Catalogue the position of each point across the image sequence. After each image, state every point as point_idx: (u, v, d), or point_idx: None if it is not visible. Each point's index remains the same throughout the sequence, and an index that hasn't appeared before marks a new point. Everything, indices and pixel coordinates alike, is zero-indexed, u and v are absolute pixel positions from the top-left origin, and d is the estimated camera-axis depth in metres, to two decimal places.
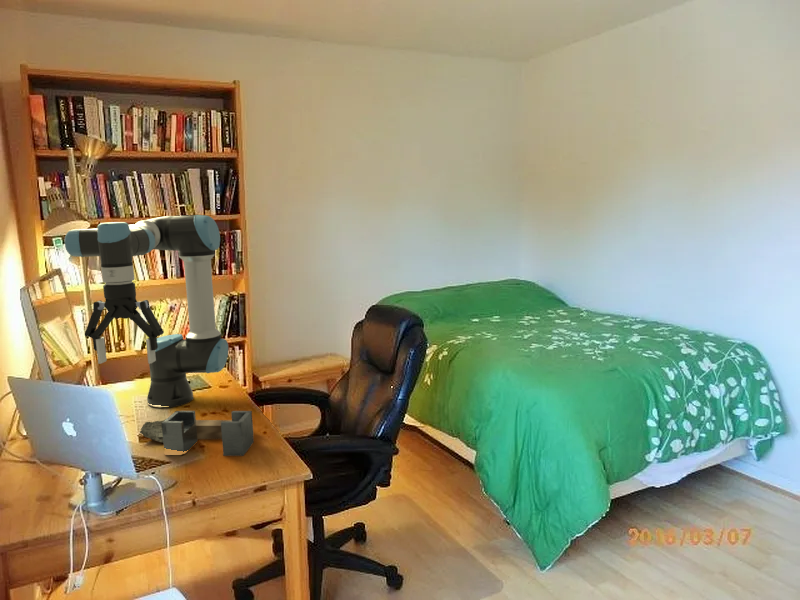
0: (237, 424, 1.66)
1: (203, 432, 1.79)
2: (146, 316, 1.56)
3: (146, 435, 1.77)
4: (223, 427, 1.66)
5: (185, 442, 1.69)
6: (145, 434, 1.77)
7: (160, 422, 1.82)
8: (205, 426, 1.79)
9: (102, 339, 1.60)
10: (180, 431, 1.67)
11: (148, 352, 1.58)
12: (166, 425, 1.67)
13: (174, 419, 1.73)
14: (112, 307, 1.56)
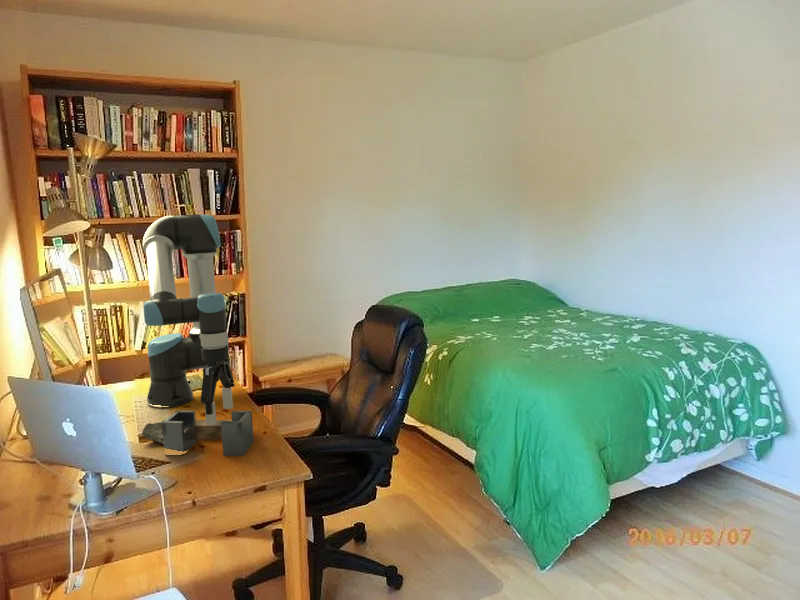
0: (237, 424, 1.66)
1: (203, 432, 1.79)
2: None
3: (148, 437, 1.76)
4: (223, 427, 1.66)
5: (185, 442, 1.69)
6: (147, 436, 1.76)
7: (161, 423, 1.81)
8: (205, 426, 1.79)
9: (227, 389, 1.85)
10: (180, 431, 1.67)
11: None
12: (166, 425, 1.67)
13: (174, 419, 1.73)
14: None
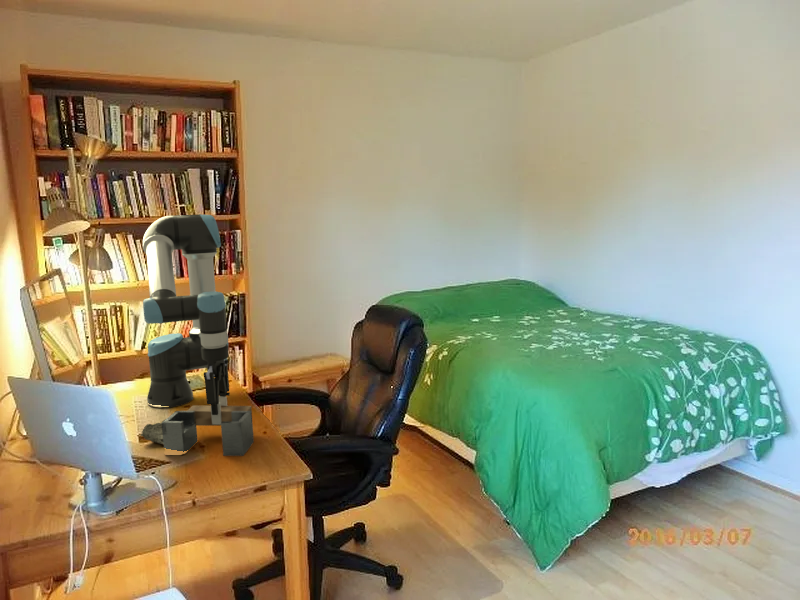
0: (237, 424, 1.66)
1: (202, 418, 1.79)
2: None
3: (148, 437, 1.75)
4: (223, 427, 1.66)
5: (185, 442, 1.69)
6: (147, 437, 1.75)
7: (161, 424, 1.80)
8: (203, 412, 1.79)
9: (223, 398, 1.82)
10: (180, 431, 1.67)
11: None
12: (166, 425, 1.67)
13: (174, 419, 1.73)
14: None
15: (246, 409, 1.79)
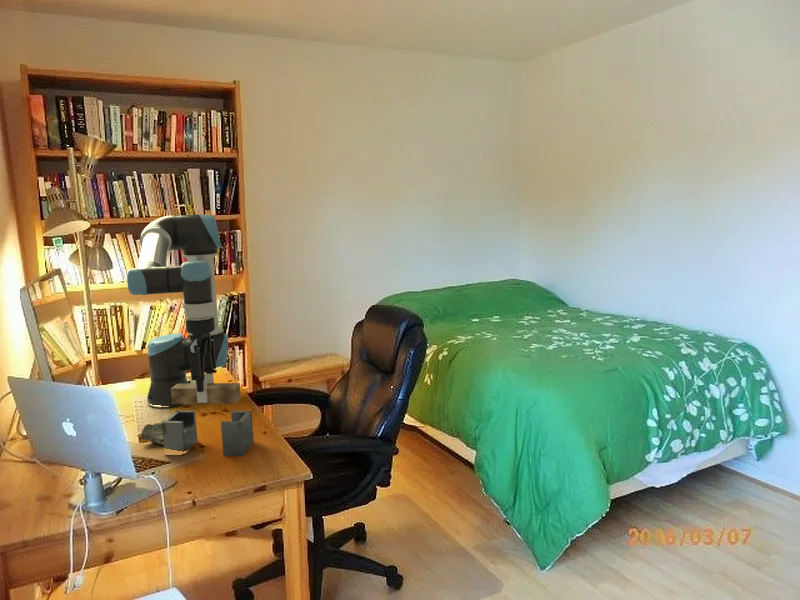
0: (237, 424, 1.66)
1: (186, 395, 1.68)
2: None
3: (147, 438, 1.75)
4: (223, 427, 1.66)
5: (185, 442, 1.69)
6: (147, 437, 1.75)
7: (160, 424, 1.80)
8: (188, 389, 1.68)
9: (209, 375, 1.71)
10: (180, 431, 1.67)
11: None
12: (166, 425, 1.67)
13: (174, 419, 1.73)
14: None
15: (234, 386, 1.68)
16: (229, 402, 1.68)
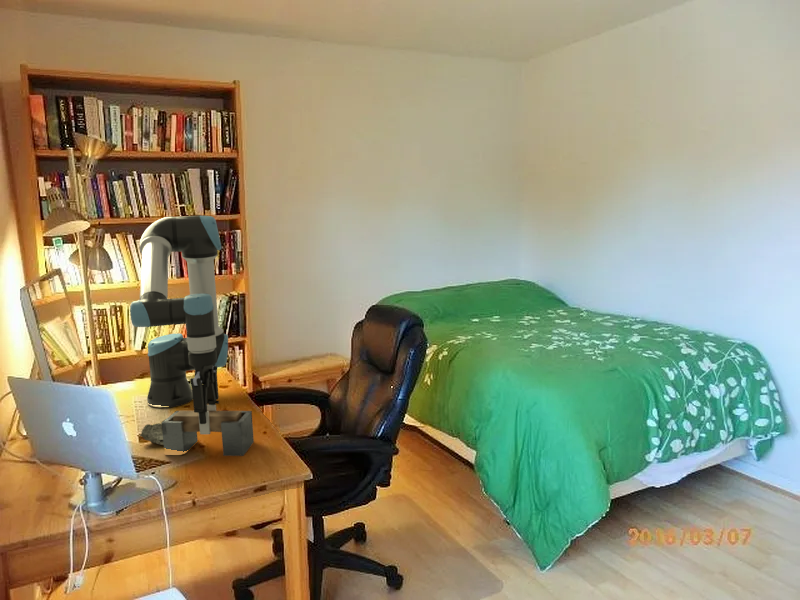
0: (237, 424, 1.66)
1: (189, 423, 1.69)
2: None
3: (147, 438, 1.75)
4: (223, 427, 1.66)
5: (185, 442, 1.69)
6: (146, 437, 1.75)
7: (160, 425, 1.80)
8: (190, 417, 1.69)
9: (211, 407, 1.73)
10: (180, 431, 1.67)
11: None
12: (166, 425, 1.67)
13: None
14: None
15: (236, 414, 1.70)
16: None
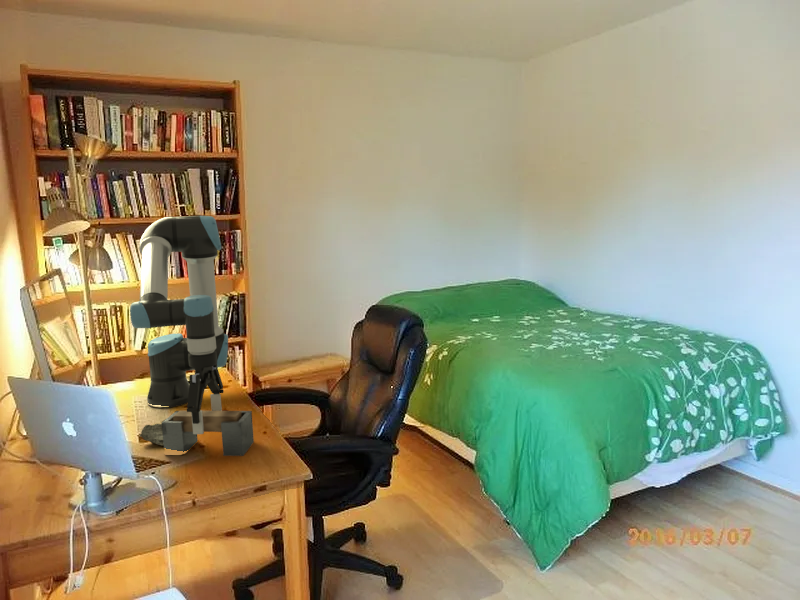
0: (237, 424, 1.66)
1: (189, 423, 1.69)
2: None
3: (146, 438, 1.75)
4: (223, 427, 1.66)
5: (185, 442, 1.69)
6: (146, 438, 1.75)
7: (160, 425, 1.80)
8: (190, 417, 1.69)
9: (216, 396, 1.77)
10: (180, 431, 1.67)
11: None
12: (166, 425, 1.67)
13: None
14: None
15: (236, 414, 1.70)
16: None
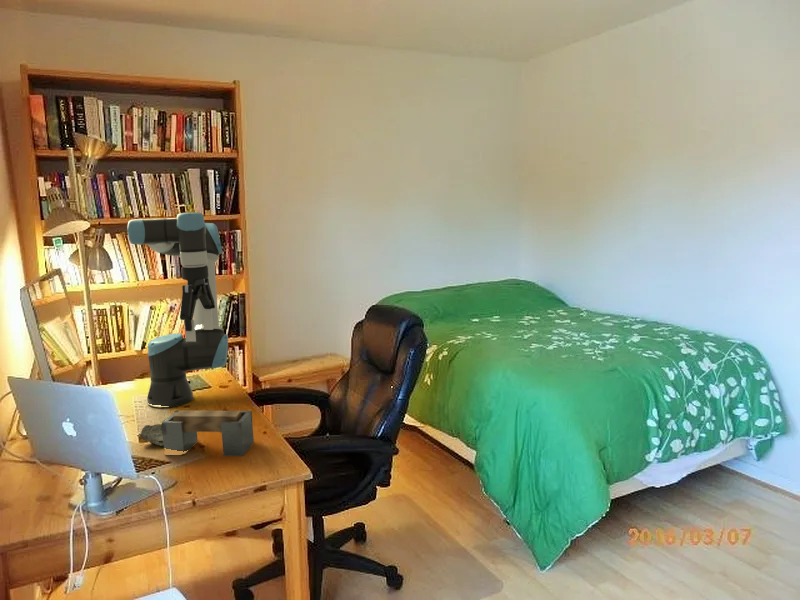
0: (237, 424, 1.66)
1: (189, 423, 1.69)
2: None
3: (146, 439, 1.74)
4: (223, 427, 1.66)
5: (185, 442, 1.69)
6: (145, 438, 1.74)
7: (160, 425, 1.79)
8: (190, 417, 1.69)
9: (208, 310, 1.88)
10: (180, 431, 1.67)
11: None
12: (166, 425, 1.67)
13: None
14: None
15: (236, 414, 1.70)
16: None
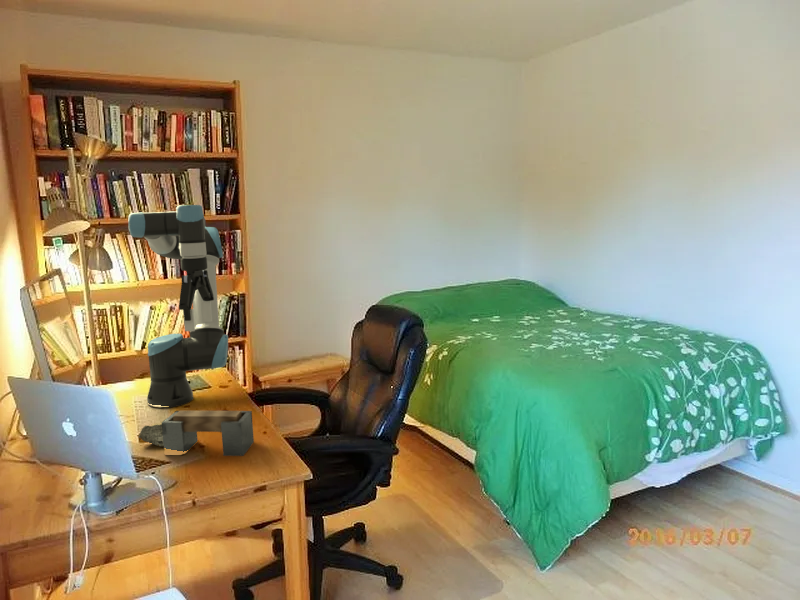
0: (237, 424, 1.66)
1: (189, 423, 1.69)
2: None
3: (145, 439, 1.74)
4: (223, 427, 1.66)
5: (185, 442, 1.69)
6: (145, 439, 1.74)
7: (159, 426, 1.79)
8: (190, 417, 1.69)
9: (207, 302, 1.91)
10: (180, 431, 1.67)
11: None
12: (166, 425, 1.67)
13: None
14: None
15: (236, 414, 1.70)
16: None
